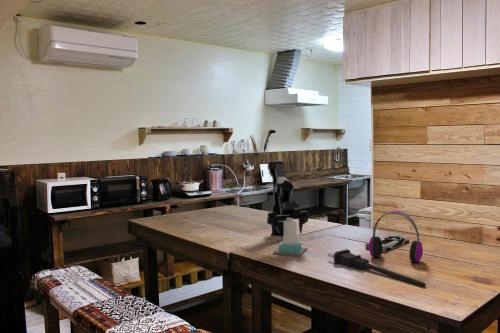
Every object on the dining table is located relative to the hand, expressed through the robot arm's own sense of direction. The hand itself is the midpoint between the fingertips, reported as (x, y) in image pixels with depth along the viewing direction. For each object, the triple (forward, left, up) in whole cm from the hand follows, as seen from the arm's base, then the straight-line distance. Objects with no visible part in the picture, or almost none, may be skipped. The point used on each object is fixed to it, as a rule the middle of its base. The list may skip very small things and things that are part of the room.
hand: (290, 233), depth 186 cm
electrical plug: (+37, -14, -9) cm, 41 cm away
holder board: (-1, +1, -9) cm, 9 cm away
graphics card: (+39, +27, -9) cm, 48 cm away
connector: (-1, +1, -8) cm, 8 cm away
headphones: (+43, +5, -9) cm, 45 cm away
